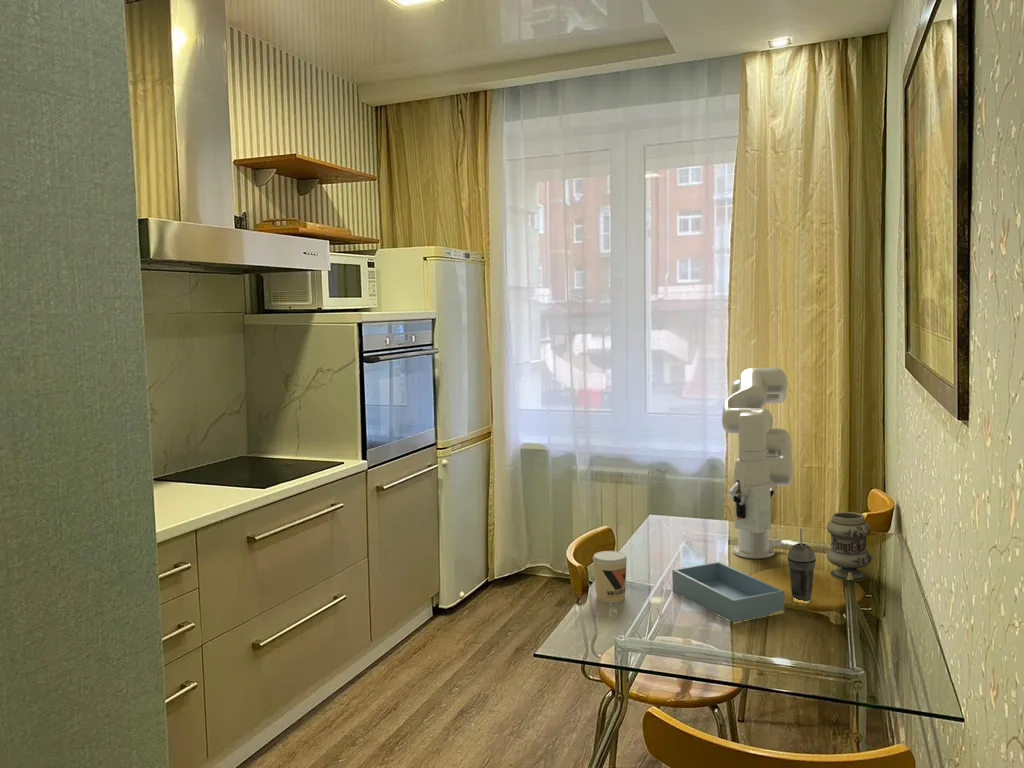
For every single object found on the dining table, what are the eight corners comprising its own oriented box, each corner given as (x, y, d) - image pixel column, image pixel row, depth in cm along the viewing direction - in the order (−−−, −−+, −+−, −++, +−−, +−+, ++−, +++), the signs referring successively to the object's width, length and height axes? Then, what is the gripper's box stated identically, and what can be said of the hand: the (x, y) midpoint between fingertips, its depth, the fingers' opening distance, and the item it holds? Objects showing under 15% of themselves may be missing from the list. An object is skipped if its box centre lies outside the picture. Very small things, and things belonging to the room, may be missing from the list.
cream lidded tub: (606, 606, 217) (605, 562, 216) (587, 596, 226) (586, 553, 225) (634, 599, 222) (633, 556, 221) (615, 589, 230) (614, 548, 229)
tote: (718, 582, 234) (718, 561, 233) (784, 613, 208) (784, 591, 208) (672, 590, 228) (672, 569, 227) (734, 624, 202) (733, 600, 202)
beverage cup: (817, 598, 218) (817, 525, 217) (814, 607, 212) (814, 532, 210) (788, 594, 222) (788, 523, 220) (785, 603, 215) (785, 529, 213)
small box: (771, 529, 233) (771, 484, 232) (758, 533, 229) (758, 488, 228) (747, 523, 240) (746, 480, 238) (734, 528, 236) (733, 484, 234)
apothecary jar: (837, 566, 244) (837, 507, 242) (878, 574, 235) (878, 513, 234) (819, 576, 236) (819, 515, 234) (861, 585, 227) (861, 522, 225)
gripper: (768, 450, 239) (768, 508, 241) (718, 456, 232) (719, 516, 234) (785, 454, 232) (785, 514, 234) (735, 461, 225) (735, 522, 227)
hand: (752, 515), depth 234 cm, fingers closed on small box, 7 cm apart
